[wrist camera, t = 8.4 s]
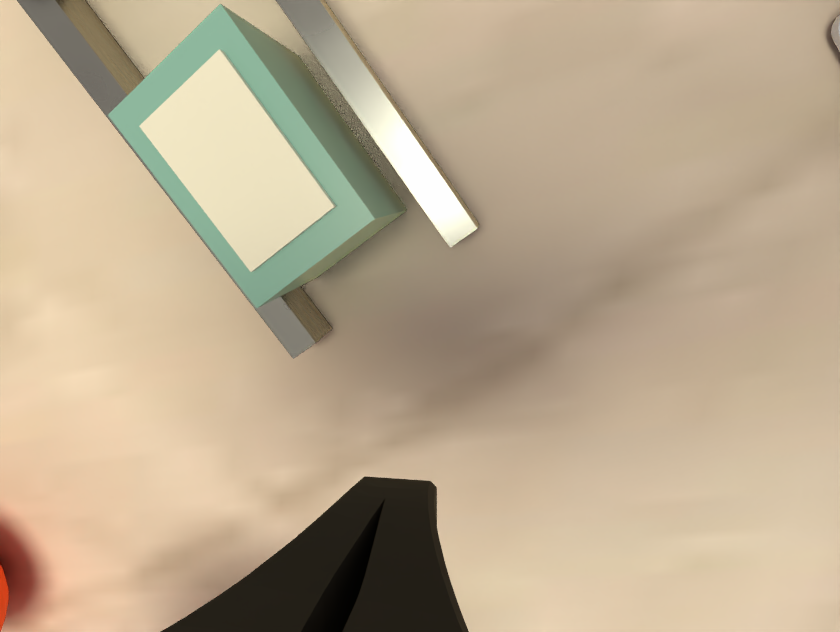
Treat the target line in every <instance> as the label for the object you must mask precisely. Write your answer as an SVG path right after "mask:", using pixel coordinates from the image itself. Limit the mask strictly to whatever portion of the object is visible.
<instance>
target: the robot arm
mask: <svg viewBox="0 0 840 632" xmlns="http://www.w3.org/2000/svg"><path fill="white" fill-rule="evenodd" d="M831 35H832V38H833V41H834V43H835V45H836V46H837V48H838V50H839V52H840V15H839V16H838V17H837V18H836V19H835V21H834V23H833V25H832V30H831ZM161 632H469V631H468V629H467V626H466V624H465V621H464V619H463V616H462V613H461V611H460V608H459V605H458V603H457V600H456V597H455V594H454V591H453V588H452V585H451V582H450V579H449V575H448V572H447V568H446V565H445V561H444V557H443V553H442V549H441V545H440V541H439V537H438V531H437V487H436V486H435V485H434V484H433V483H432V482H431V481H422V480H407V479H392V478H377V477H364V478H362V479H361V480H360V481H359V482H358V483H357V484H356V485H354V486H353V487H352V488H351V489H350V490H349V491H348V492H347V493H345V494H344V495H343V496H342V497H341V498H340V499H339V500H338V501H337V502H336V503H334V504H333V505H332V506H331V507H330V508H329V509H328V510H327V511H326V512H324V513H323V514H322V515H321V516H320V517H319V518H318V519H317V520H315V521H314V522H313V523H312V524H311V525H310V526H309V527H307V528H306V529H305V530H304V531H303V532H302V533H300V534H299V535H298V536H297V537H296V538H295V539H293V540H292V541H291V542H290V543H289V544H287V545H286V546H285V547H283V548H282V549H281V550H280V551H278V552H277V553H276V554H274V555H273V556H272V557H271V558H269V559H268V560H267V561H266V562H264V563H263V564H262V565H260V566H259V567H258V568H257V569H255V570H254V571H253V572H251V573H250V574H249V575H247V576H246V577H245V578H243V579H242V580H241V581H239V582H238V583H236V584H235V585H233V586H232V587H231V588H229V589H228V590H226V591H225V592H223V593H222V594H220V595H219V596H217V597H216V598H214V599H213V600H211V601H210V602H208V603H207V604H205V605H203V606H202V607H200V608H199V609H197V610H196V611H194V612H193V613H191V614H190V615H188V616H186V617H185V618H183V619H182V620H180V621H178V622H177V623H175V624H173V625H172V626H170V627H168V628H166V629H165V630H163V631H161Z"/></svg>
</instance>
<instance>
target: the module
mask: <svg viewBox="0 0 840 632" xmlns="http://www.w3.org/2000/svg"><path fill="white" fill-rule="evenodd" d="M108 116H109V118H110V119H111V120H112V121H113V123H114V124H115V125H116V127H117V128H118V129H119V131H120V132H121V133H122V134H123V136H124V137H125V138H126V140H127V141H128V142H129V143H130V145H131V146H132V147H133V149H134V150H135V151H136V153H137V154H138V155H139V156H140V158H141V159H142V160H143V162H144V163H145V164H146V166H147V167H148V168H149V169H150V171H151V172H152V173H153V175H154V176H155V177H156V179H157V180H158V181H159V182H160V184H161V185H162V186H163V188H164V189H165V190H166V192H167V193H168V194H169V195H170V197H171V198H172V199H173V201H174V202H175V203H176V205H177V206H178V207H179V208H180V210H181V211H182V212H183V214H184V215H185V216H186V217H187V219H188V220H189V221H190V223H191V224H192V225H193V227H194V228H195V229H196V230H197V232H198V233H199V234H200V236H201V237H202V238H203V240H204V241H205V242H206V243H207V245H208V246H209V247H210V249H211V250H212V251H213V253H214V254H215V255H216V256H217V258H218V259H219V260H220V262H221V263H222V264H223V266H224V267H225V268H226V269H227V271H228V272H229V273H230V275H231V276H232V277H233V278H234V280H235V281H236V282H237V284H238V285H239V286H240V288H241V289H242V290H243V291H244V293H245V294H246V295H247V297H248V298H249V299H250V301H251V302H252V303H253V304H254V306H255V307H256V308H259V307H261V306H263V305H265V304H267V303H269V302H270V301H272V300H274V299H276V298H278V297H280V296H282V295H284V294H286V293H288V292H290V291H292V290H294V289H296V288H298V287H300V286H301V285H303V284H305V283H307V282H309V281H311V280H313V279H315V278H317V277H319V276H320V275H321V274H323V273H324V272H325V271H327V270H328V269H329V268H331V267H332V266H333V265H335V264H336V263H337V262H339V261H340V260H341V259H343V258H344V257H345V256H347V255H348V254H349V253H351V252H352V251H353V250H355V249H356V248H357V247H359V246H360V245H361V244H363V243H364V242H365V241H367V240H368V239H369V238H371V237H372V236H373V235H375V234H376V233H377V232H379V231H380V230H381V229H383V228H384V227H385V226H387V225H388V224H389V223H391V222H392V221H393V220H395V219H396V218H397V217H399V216H400V215H401V214H403V213H404V212H405V211H407V209H406V207H405V206H404V204H403V203H402V202H401V200H400V199H399V197H398V196H397V195H396V193H395V192H394V190H393V189H392V187H391V186H390V185H389V183H388V182H387V180H386V179H385V178H384V176H383V175H382V173H381V172H380V171H379V169H378V168H377V166H376V165H375V163H374V162H373V161H372V159H371V158H370V156H369V155H368V154H367V152H366V151H365V149H364V148H363V147H362V145H361V144H360V142H359V141H358V139H357V138H356V137H355V135H354V134H353V132H352V131H351V130H350V128H349V127H348V125H347V124H346V123H345V121H344V120H343V118H342V117H341V115H340V114H339V113H338V111H337V110H336V108H335V107H334V106H333V104H332V103H331V101H330V100H329V99H328V97H327V96H326V94H325V93H324V91H323V90H322V89H321V87H320V86H319V84H318V83H317V82H316V80H315V79H314V77H313V76H312V75H311V73H310V72H309V70H308V69H307V67H306V66H305V65H304V63H303V62H302V60H301V59H300V58H299V56H298V55H296V54H295V53H293V52H292V51H290V50H289V49H287V48H286V47H284V46H283V45H281V44H280V43H278V42H277V41H275V40H274V39H272V38H271V37H269V36H268V35H266V34H265V33H263V32H262V31H260V30H259V29H257V28H256V27H254V26H253V25H251V24H250V23H248V22H247V21H245V20H244V19H242V18H241V17H239V16H238V15H236V14H235V13H233V12H232V11H230V10H229V9H227V8H226V7H224V6H223V5H221V4H220V5H219V6H218V7H217V8H216V9H215V10H214V11H213V12H212V13H211V14H210V15H209V16H208V17H206V18H205V19H204V20H203V21H202V22H201V23H200V24H199V25H198V26H197V27H196V28H195V29H194V30H193V31H192V32H191V33H190V34H189V35H188V36H187V37H186V38H185V39H184V40H183V41H182V42H181V43H180V44H179V45H178V46H177V47H176V48H175V49H174V50H173V51H172V52H171V53H170V54H169V55H168V56H167V57H166V58H165V59H164V60H163V61H162V62H161V63H160V64H159V65H158V66H157V67H156V68H155V69H154V70H153V71H152V72H151V73H150V74H149V75H148V76H147V77H146V78H145V79H144V80H143V81H142V82H141V83H140V84H139V85H138V86H137V87H136V88H135V89H134V90H133V91H132V92H131V93H130V94H129V95H128V96H127V97H125V98H124V99H123V100H122V101H121V102H120V103H119V104H118V105H117V106H116V107H115V108H114V109H113V110H112V111H111V112H110V113H109V114H108Z"/></svg>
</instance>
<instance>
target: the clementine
mask: <svg viewBox="0 0 840 632" xmlns="http://www.w3.org/2000/svg"><path fill="white" fill-rule="evenodd" d="M8 601H9V589H8V585H7V582H6V578H5V575H4V571H3V568H2V566H1V564H0V632H1V629H2V626H3V623H4V620H5V616H6V611H7V606H8Z"/></svg>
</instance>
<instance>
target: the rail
mask: <svg viewBox="0 0 840 632" xmlns="http://www.w3.org/2000/svg"><path fill="white" fill-rule="evenodd" d="M17 1H18V3H19V4H20V5H21V6H22V8H23V9H24V10H25V12H26V13H27V14H28V15H29V17H30V18H31V19H32V21H33V22H34V23H35V25H36V26H37V27H38V28H39V30H40V31H41V32H42V34H43V35H44V36H45V38H46V39H47V40H48V41H49V43H50V44H51V45H52V47H53V48H54V49H55V51H56V52H57V53H58V54H59V56H60V57H61V58H62V60H63V61H64V62H65V63H66V65H67V66H68V67H69V69H70V70H71V71H72V73H73V74H74V75H75V76H76V78H77V79H78V80H79V82H80V83H81V84H82V86H83V87H84V88H85V89H86V91H87V92H88V93H89V95H90V96H91V97H92V98H93V100H94V101H95V102H96V104H97V105H98V106H99V108H100V109H101V110H102V111H103V113H104V114H105V115H106V117H107V118H108V119H109V121H110V122H111V123H112V124H113V126H114V127H115V128H116V130H117V131H118V132H119V134H120V135H121V136H122V137H123V139H124V140H125V141H126V143H127V144H128V145H129V146H130V148H131V149H132V150H133V152H134V153H135V154H136V156H137V157H138V158H139V159H140V161H141V162H142V163H143V165H144V166H145V167H146V169H147V170H148V171H149V172H150V174H151V175H152V176H153V178H154V179H155V180H156V181H157V183H158V184H159V185H160V187H161V188H162V189H163V191H164V192H165V193H166V194H167V196H168V197H169V198H170V200H171V201H172V202H173V204H174V205H175V206H176V207H177V209H178V210H179V211H180V213H181V214H182V215H183V217H184V218H185V219H186V220H187V222H188V223H189V224H190V226H191V227H192V228H193V229H194V231H195V232H196V233H197V235H198V236H199V237H200V239H201V240H202V241H203V242H204V244H205V245H206V246H207V248H208V249H209V250H210V252H211V253H212V254H213V255H214V257H215V258H216V259H217V261H218V262H219V263H220V265H221V266H222V267H223V268H224V270H225V271H226V272H227V274H228V275H229V276H230V277H231V279H232V280H233V281H234V283H235V284H236V285H237V287H238V288H239V289H240V290H241V292H242V293H243V294H244V296H245V297H246V298H247V300H248V301H249V302H250V303H251V305H252V306H253V307H254V309H255V310H256V311H257V312H258V314H259V315H260V316H261V318H262V319H263V320H264V322H265V323H266V324H267V325H268V327H269V328H270V329H271V331H272V332H273V333H274V335H275V336H276V337H277V338H278V340H279V341H280V342H281V344H282V345H283V346H284V348H285V349H286V350H287V351H288V353H289V354H290V355H291V357H292V358H293V359H294V358H295V357H297V356H298V355H300V354H301V353H302V352H304V351H305V350H307V349H308V348H309V347H311V346H312V345H314V344H315V343H316V342H318V341H319V340H320V339H321V338H322V337H323V336H324V335H325V334H327V333H328V332H329V331H330V330H331V329H332V327H331V326H330V325H329V323H328V322H327V321H326V319H325V318H324V317H323V315H322V314H321V313H320V312H319V310H318V309H317V308H316V306H315V305H314V304H313V302H312V301H311V300H310V298H309V297H308V296H307V294H306V293H305V292H304V290H303V289H302V288H301V286H300V287H298V288H296V289H294V290H292V291H290V292H288V293H286V294H284V295H282V296H280V297H278V298H276V299H274V300H272V301H270V302H269V303H267V304H265V305H263V306H261V307H259V308H256V307H255V306H254V304H253V303H252V302H251V301H250V299H249V298H248V297H247V295H246V294H245V293H244V291H243V290H242V289H241V288H240V286H239V285H238V284H237V282H236V281H235V280H234V278H233V277H232V276H231V275H230V273H229V272H228V271H227V269H226V268H225V267H224V266H223V264H222V263H221V262H220V260H219V259H218V258H217V256H216V255H215V254H214V253H213V251H212V250H211V249H210V247H209V246H208V245H207V243H206V242H205V241H204V240H203V238H202V237H201V236H200V234H199V233H198V232H197V230H196V229H195V228H194V227H193V225H192V224H191V223H190V221H189V220H188V219H187V217H186V216H185V215H184V214H183V212H182V211H181V210H180V208H179V207H178V206H177V205H176V203H175V202H174V201H173V199H172V198H171V197H170V195H169V194H168V193H167V192H166V190H165V189H164V188H163V186H162V185H161V184H160V182H159V181H158V180H157V179H156V177H155V176H154V175H153V173H152V172H151V171H150V169H149V168H148V167H147V166H146V164H145V163H144V162H143V160H142V159H141V158H140V156H139V155H138V154H137V153H136V151H135V150H134V149H133V147H132V146H131V145H130V143H129V142H128V141H127V140H126V138H125V137H124V136H123V134H122V133H121V132H120V131H119V129H118V128H117V127H116V125H115V124H114V123H113V121H112V120H111V119H110V118H109V116H108V114H109V113H110V112H111V111H112V110H113V109H114V108H115V107H116V106H117V105H118V104H119V103H120V102H121V101H122V100H123V99H124V98H125V97H127V96H128V95H129V94H130V93H131V92H132V91H133V90H134V89H135V88H136V87H137V86H138V85H139V84H140V83H141V82H142V81H143V80H144V78H143V76H142V75H141V74H140V73H139V71H138V70H137V69H136V67H135V66H134V65H133V63H132V62H131V61H130V59H129V58H128V57H127V55H126V54H125V53H124V51H123V50H122V49H121V47H120V46H119V45H118V43H117V42H116V41H115V39H114V38H113V37H112V35H111V34H110V33H109V31H108V30H107V29H106V27H105V26H104V25H103V23H102V22H101V21H100V19H99V18H98V17H97V15H96V14H95V13H94V11H93V10H92V9H91V7H90V6H89V5H88V3H87V2H86V1H85V0H17ZM276 1H277V2H278V4H279V5H280V7H281V8H282V10H283V11H284V12H285V14H286V15H287V17H288V18H289V20H290V21H291V22H292V24H293V25H294V27H295V28H296V29H297V31H298V32H299V34H300V35H301V37H302V38H303V39H304V41H305V42H306V44H307V45H308V47H309V48H310V49H311V51H312V52H313V54H314V55H315V57H316V58H317V59H318V61H319V62H320V64H321V65H322V66H323V68H324V69H325V71H326V72H327V74H328V75H329V76H330V78H331V79H332V81H333V82H334V84H335V85H336V86H337V88H338V89H339V91H340V92H341V93H342V95H343V96H344V98H345V99H346V101H347V102H348V103H349V105H350V106H351V108H352V109H353V111H354V112H355V113H356V115H357V116H358V118H359V119H360V121H361V122H362V123H363V125H364V126H365V128H366V129H367V130H368V132H369V133H370V135H371V136H372V138H373V139H374V140H375V142H376V143H377V145H378V146H379V148H380V149H381V150H382V152H383V153H384V155H385V156H386V157H387V159H388V160H389V162H390V163H391V165H392V166H393V167H394V169H395V170H396V172H397V173H398V175H399V176H400V177H401V179H402V180H403V182H404V183H405V185H406V186H407V187H408V189H409V190H410V192H411V193H412V194H413V196H414V197H415V199H416V200H417V202H418V203H419V204H420V206H421V207H422V209H423V210H424V212H425V213H426V214H427V216H428V217H429V219H430V220H431V221H432V223H433V224H434V226H435V227H436V229H437V230H438V231H439V233H440V234H441V236H442V237H443V239H444V240H445V241H446V243H447V244H448V246H449V247H450V248H451V247H452V246H454V245H455V244H456V243H458V242H459V241H461V240H462V239H464V238H465V237H466V236H468V235H469V234H471V233H472V232H473V231H475V230H476V229H478V226H479V223H478V222H477V220H476V219H475V217H474V216H473V215H472V213H471V212H470V210H469V209H468V207H467V206H466V204H465V203H464V202H463V200H462V199H461V197H460V196H459V194H458V193H457V191H456V190H455V189H454V187H453V186H452V184H451V183H450V181H449V180H448V178H447V177H446V175H445V174H444V173H443V171H442V170H441V168H440V167H439V165H438V164H437V162H436V161H435V160H434V158H433V157H432V155H431V154H430V152H429V151H428V149H427V148H426V147H425V145H424V144H423V142H422V141H421V139H420V138H419V136H418V135H417V133H416V132H415V131H414V129H413V128H412V126H411V125H410V123H409V122H408V120H407V119H406V118H405V116H404V115H403V113H402V112H401V110H400V109H399V107H398V106H397V105H396V103H395V102H394V100H393V99H392V97H391V96H390V94H389V93H388V91H387V90H386V89H385V87H384V86H383V84H382V83H381V81H380V80H379V78H378V77H377V76H376V74H375V73H374V71H373V70H372V68H371V67H370V65H369V64H368V63H367V61H366V60H365V58H364V57H363V55H362V54H361V52H360V51H359V49H358V48H357V47H356V45H355V44H354V42H353V41H352V39H351V38H350V36H349V35H348V34H347V32H346V31H345V29H344V28H343V26H342V25H341V23H340V22H339V20H338V19H337V18H336V16H335V15H334V13H333V12H332V10H331V9H330V7H329V6H328V5H327V3H326V2H325V0H276Z"/></svg>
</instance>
